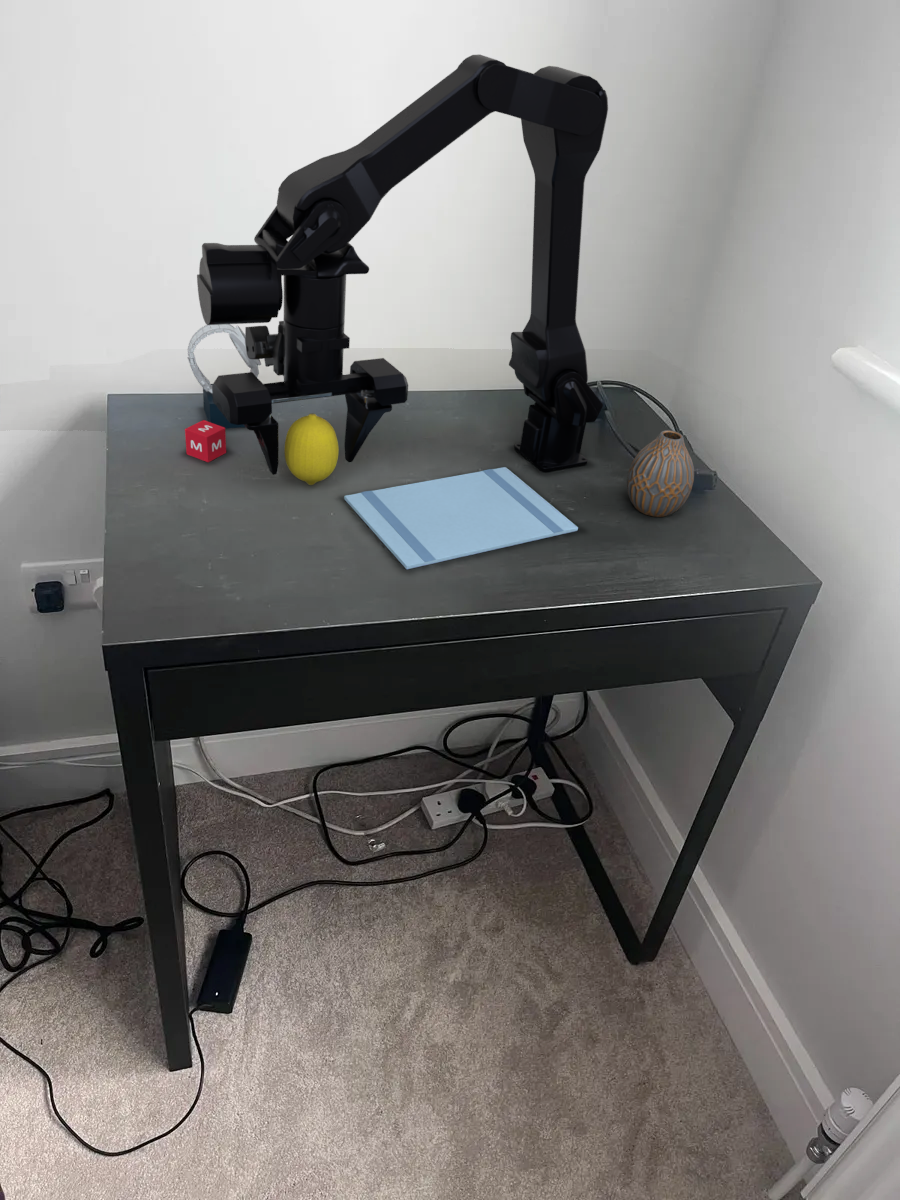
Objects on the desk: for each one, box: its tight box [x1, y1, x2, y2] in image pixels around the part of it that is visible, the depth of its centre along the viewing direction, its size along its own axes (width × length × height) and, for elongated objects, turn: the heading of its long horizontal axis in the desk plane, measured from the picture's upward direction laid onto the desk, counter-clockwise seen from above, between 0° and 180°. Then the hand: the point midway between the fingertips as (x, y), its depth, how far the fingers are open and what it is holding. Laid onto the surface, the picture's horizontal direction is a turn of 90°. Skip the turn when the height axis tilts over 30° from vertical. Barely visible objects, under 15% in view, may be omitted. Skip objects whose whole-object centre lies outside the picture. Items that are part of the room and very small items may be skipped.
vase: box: [626, 429, 695, 518], centre depth 98 cm, size 7×7×9 cm
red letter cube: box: [184, 419, 227, 463], centre depth 99 cm, size 3×3×3 cm
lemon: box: [283, 413, 340, 486], centre depth 94 cm, size 6×6×8 cm
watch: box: [187, 324, 262, 429], centre depth 104 cm, size 6×8×11 cm
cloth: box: [343, 466, 579, 570], centre depth 95 cm, size 20×14×1 cm
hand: (311, 466), depth 95 cm, fingers open, 8 cm apart
